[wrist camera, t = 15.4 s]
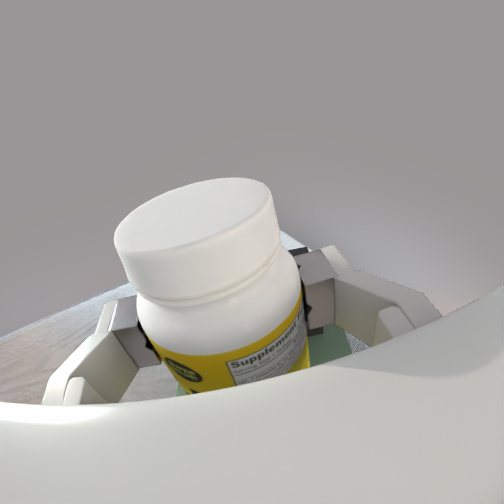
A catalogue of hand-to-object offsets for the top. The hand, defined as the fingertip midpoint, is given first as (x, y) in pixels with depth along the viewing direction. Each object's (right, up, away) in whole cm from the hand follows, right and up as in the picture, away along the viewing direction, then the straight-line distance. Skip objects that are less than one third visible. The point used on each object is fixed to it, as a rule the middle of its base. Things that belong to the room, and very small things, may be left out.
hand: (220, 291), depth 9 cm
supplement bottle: (+1, -5, +2) cm, 5 cm away
